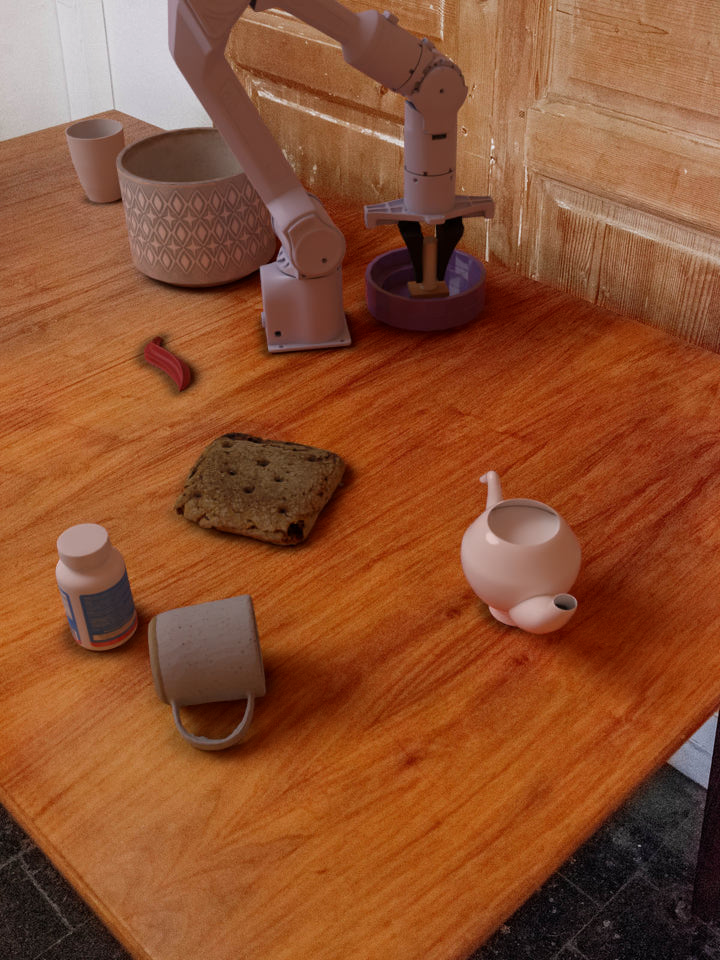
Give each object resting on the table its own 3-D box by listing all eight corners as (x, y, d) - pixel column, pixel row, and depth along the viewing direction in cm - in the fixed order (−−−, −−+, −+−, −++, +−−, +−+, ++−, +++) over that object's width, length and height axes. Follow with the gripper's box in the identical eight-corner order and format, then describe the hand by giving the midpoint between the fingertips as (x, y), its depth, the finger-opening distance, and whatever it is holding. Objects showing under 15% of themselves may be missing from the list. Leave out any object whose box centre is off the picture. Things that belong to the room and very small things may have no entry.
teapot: (530, 522, 100) (538, 440, 94) (617, 685, 84) (632, 598, 78) (429, 539, 98) (430, 456, 93) (498, 708, 83) (505, 621, 77)
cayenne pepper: (141, 340, 127) (139, 326, 126) (181, 335, 128) (179, 320, 127) (150, 395, 118) (147, 380, 117) (193, 389, 119) (191, 374, 118)
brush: (412, 316, 129) (412, 247, 123) (407, 302, 131) (407, 234, 126) (449, 313, 129) (451, 244, 124) (443, 299, 132) (445, 231, 126)
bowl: (375, 340, 126) (375, 306, 123) (359, 283, 137) (358, 250, 134) (496, 329, 127) (498, 294, 125) (470, 273, 138) (471, 240, 136)
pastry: (209, 576, 95) (205, 550, 93) (145, 471, 107) (141, 446, 106) (384, 514, 101) (384, 488, 99) (304, 421, 113) (303, 397, 112)
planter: (129, 239, 149) (111, 135, 140) (264, 222, 152) (255, 120, 143) (139, 303, 134) (120, 192, 126) (288, 283, 137) (280, 173, 129)
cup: (139, 185, 163) (129, 118, 157) (125, 207, 157) (114, 139, 151) (87, 184, 164) (74, 118, 158) (70, 206, 158) (57, 139, 152)
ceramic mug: (158, 657, 88) (143, 589, 83) (259, 642, 89) (251, 573, 84) (163, 765, 79) (148, 696, 75) (275, 747, 80) (267, 678, 76)
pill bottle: (150, 613, 92) (132, 524, 86) (118, 659, 88) (97, 569, 82) (92, 600, 93) (71, 511, 87) (59, 644, 89) (34, 554, 83)
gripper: (369, 185, 116) (372, 300, 124) (503, 175, 117) (497, 288, 125) (360, 160, 121) (363, 271, 130) (488, 150, 123) (483, 261, 131)
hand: (428, 278), depth 128 cm, fingers closed on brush, 2 cm apart
